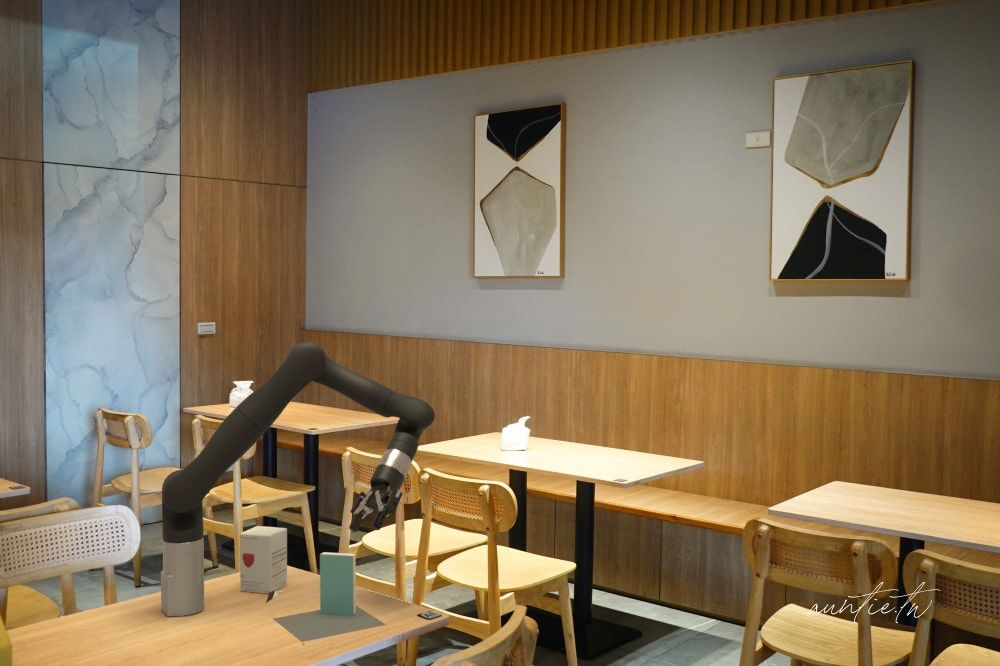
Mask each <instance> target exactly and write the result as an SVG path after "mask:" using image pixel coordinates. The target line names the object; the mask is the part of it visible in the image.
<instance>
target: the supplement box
mask: <svg viewBox="0 0 1000 666" xmlns="http://www.w3.org/2000/svg"><path fill="white" fill-rule="evenodd" d="M239 562H240V563H239V568H240V570H239V572H240V573H239V575H240V577H239V578H240V579H239V584H240V587H239V588H240V590H239V591H240V592H245V591H247V593H256V592H257V593H258V594H265V593H267V594H268V595H269V592H272V591H276V590H277V591H279V590H280V589H282V588H283V587H285V586H287V585H288V528H286V527H275V526H262V525H256V526H254V527H252V528H249V529H247V530H245V531H243V532H241V533H240V534H239ZM257 593H256V594H257Z"/></svg>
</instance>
